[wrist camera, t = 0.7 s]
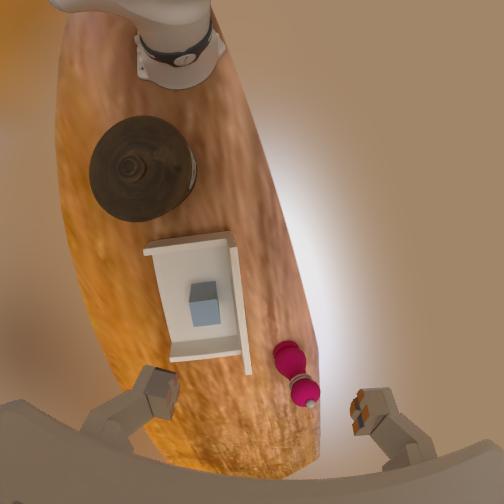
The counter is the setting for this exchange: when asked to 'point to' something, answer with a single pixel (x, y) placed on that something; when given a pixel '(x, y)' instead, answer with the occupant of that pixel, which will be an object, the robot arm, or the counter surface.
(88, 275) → the counter surface
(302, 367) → the pepper mill
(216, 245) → the open box
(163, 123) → the wooden container
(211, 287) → the block
